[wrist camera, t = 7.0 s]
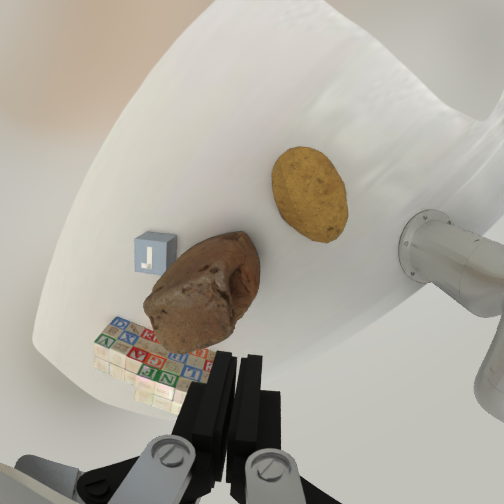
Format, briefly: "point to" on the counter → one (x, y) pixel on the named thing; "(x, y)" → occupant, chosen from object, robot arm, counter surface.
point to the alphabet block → (154, 252)
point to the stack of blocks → (149, 364)
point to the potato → (310, 194)
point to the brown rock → (204, 293)
